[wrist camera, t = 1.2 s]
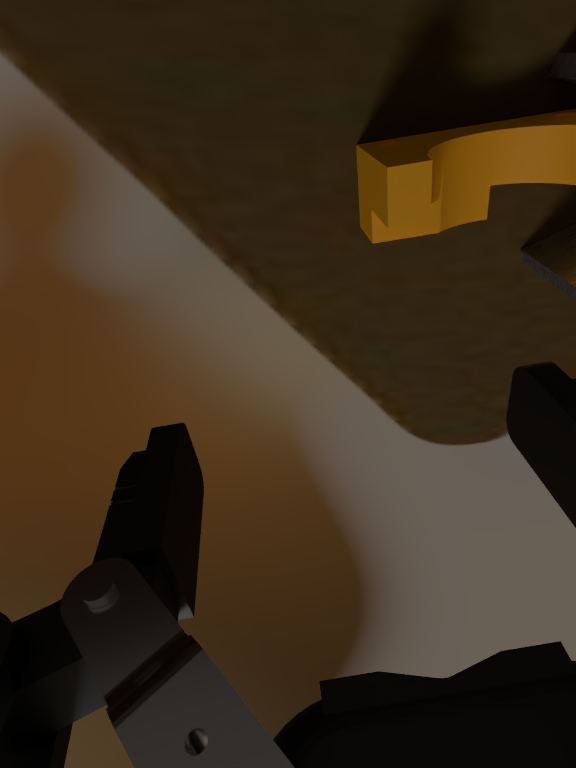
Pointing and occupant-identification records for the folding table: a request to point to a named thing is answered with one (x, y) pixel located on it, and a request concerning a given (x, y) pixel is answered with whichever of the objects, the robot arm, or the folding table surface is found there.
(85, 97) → the folding table surface
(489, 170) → the pipe clamp
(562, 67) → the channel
